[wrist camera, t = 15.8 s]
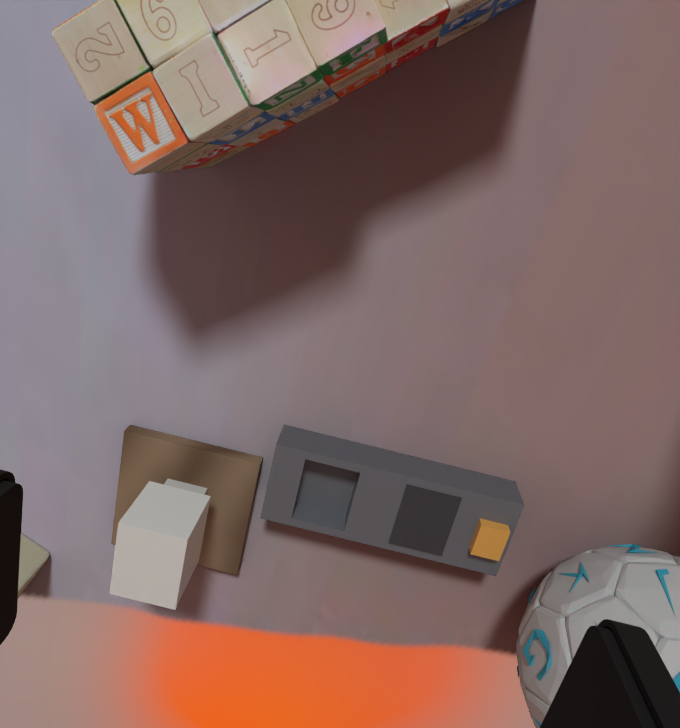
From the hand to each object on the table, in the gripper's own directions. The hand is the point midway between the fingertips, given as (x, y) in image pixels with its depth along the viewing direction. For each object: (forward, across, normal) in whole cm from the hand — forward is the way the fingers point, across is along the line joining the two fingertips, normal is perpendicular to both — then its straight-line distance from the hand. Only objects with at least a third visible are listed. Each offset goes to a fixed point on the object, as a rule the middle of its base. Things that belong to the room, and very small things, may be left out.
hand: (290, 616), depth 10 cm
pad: (+30, +9, +20) cm, 37 cm away
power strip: (+30, -6, +15) cm, 34 cm away
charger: (+29, +9, +20) cm, 37 cm away
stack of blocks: (+31, +5, -13) cm, 34 cm away
